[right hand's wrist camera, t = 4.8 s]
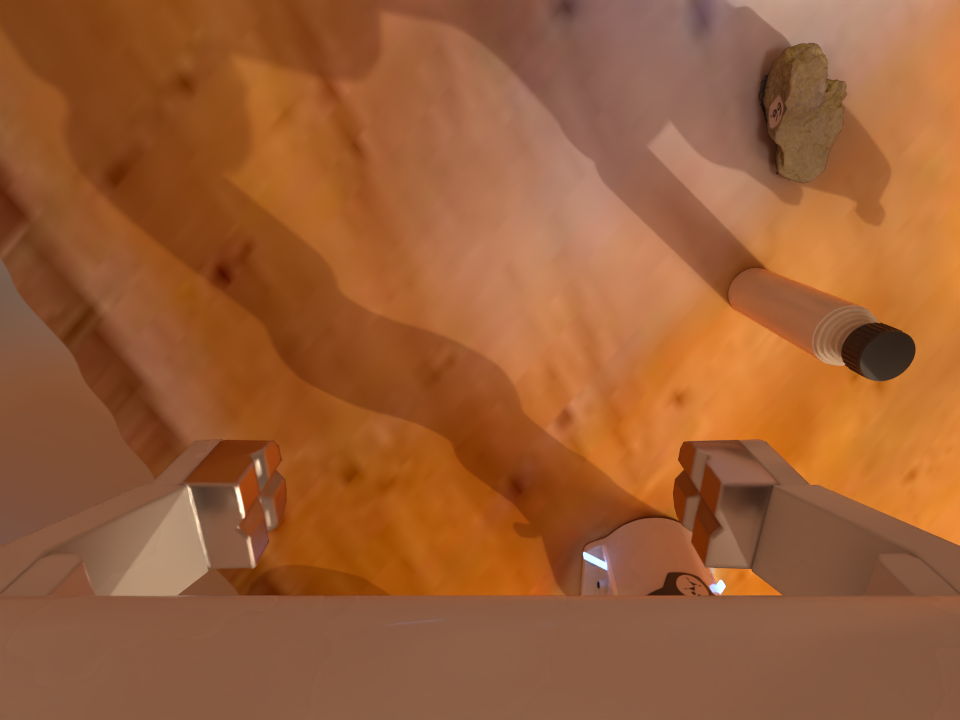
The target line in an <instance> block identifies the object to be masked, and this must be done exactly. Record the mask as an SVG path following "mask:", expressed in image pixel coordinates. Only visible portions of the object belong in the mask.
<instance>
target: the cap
mask: <svg viewBox="0 0 960 720" xmlns="http://www.w3.org/2000/svg"><path fill="white" fill-rule="evenodd" d="M914 356H915V343H914V341H913V340H912V338H911V337H910V336H909V335H907V334H906V333H903V332H902V331H901V330H898V329H896V328H893V327H891V326H888V325H886V324H883V323H876V322H875V323H869V324H865V325H862V326H860V327H858V328H856V329H855V330H853V331H852V332H851V333H850V334H849V335H848V336H847V338H846V339H845V341H844V343H843V345H842V349H841V357H842V360H843V362H844V363H845V366H847V367H849V369H851V370H852V371H854V372H856V373H858V374H860V375H861V376H864V377H865V378H867V379H870V380H874V381H886V380H890V379H893V378H895V377H897V376H899V375H900V374H901V373H903V372H904V371H905V370H906V369H907V368H908V367H909V366H910V364H911V362H912V361H913V358H914Z"/></svg>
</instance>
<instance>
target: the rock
mask: <svg viewBox="0 0 960 720" xmlns="http://www.w3.org/2000/svg"><path fill="white" fill-rule="evenodd" d="M827 71H828V60H827V59H826V56H825V55H824V54H823V53H822V50H821V48H820V47H819V45H817V44H815V43H808V44H805V43H803V44H798V45H796V46H793V47H790V48H787V49H785V50H784V51H783V53H782V54H781V55H780V56H779V57H778V58H776V59H775V60H774V61H773V63H772V69H771V71H770V73H769V75H767V76H766V75H765V77H764V79H763V81H762V87H761V92H760V95H759V100H761V99H762V100H761V104H760V105H762V109H763V111H764V116H765V119H766V123H767V130H768V133H769V136H770V138H771V139H772V140H773V141H775V143H776V144H777V149H776V162H775V163H776V170H777V173H776V174H778V173H779V174H780V175H781V176H782V177H784V178H786V179H789V180H793V181H796V182H800V183H807V182H810V181H812V180H814V179H815V178H816V177H818V176H819V175H820V174H821V173H822V172H823V171H824V170H825V167H826V162H827V159H828V155H829V151H830V148H831V146H832V145H833V144H834V141H835V138H836V136H837V135H838V134H839V132H840V131H841V130H842V127H843V113H844V106H843V105H842V101H843V99H844V98H845V97H846V95H847V92H846V83H845V81H838V80H829V79H827V76H828V73H827Z"/></svg>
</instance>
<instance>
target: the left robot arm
mask: <svg viewBox="0 0 960 720" xmlns="http://www.w3.org/2000/svg"><path fill="white" fill-rule="evenodd" d="M691 539H692V532H691V531H689V530H688V529H686V528H685V527H683V526H682V525H681V523H679V522H676V521H674V520H670V519H666V518H645V519H640V520H636V521H633V522H630V523H628V524H625V525H623V526H622V527H620V528H618V529H617V530H615V531H614V532H613V533H611V534H610V535H609V536H607V537H605V538H603V539H600V540H597V541H594V542H591V543H589V544H587V545H586V546H585V547H584V551H583V564H582V577H581V590H580V596H721V592H722V591H723V589H724V588H725V585H724V583H723V581H721V580H720V581H719V583H718V584H716V582H715V579H714V577H713V574H714V572H715V568H705V566H704V564H703V563H702V561H701V559H700V557H699V555H698V554H697V552H696V550H695V548H694V547H693V545H692V543H691Z"/></svg>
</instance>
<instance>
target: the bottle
mask: <svg viewBox="0 0 960 720" xmlns="http://www.w3.org/2000/svg"><path fill="white" fill-rule="evenodd" d="M728 299H729V303H730V305H731V306H732V308H733V309H735V310H736V311H737V312H739V313H741V314H743V315H744V316H746V317H748V318H749V319H751V320H753V321H754V322H756V323H758V324H759V325H761V326H763V327H765V328H766V329H768V330H770V331H771V332H773V333H775V334H776V335H778V336H780V337H781V338H783V339H785V340H787V341H788V342H790V343H792V344H793V345H795V346H797V347H798V348H800V349H802V350H803V351H805V352H807V353H808V354H810V355H812V356H814V357H815V358H817V359H819V360H820V361H822V362H824V363H827V364H831V365H845V363H844V362H843V360H842V357H841V349H842V345H843V343H844V341H845V339H846V338H847V336H848V335H849V334H850V333H851V332H852V331H853V330H855V329H856V328H858V327H860V326H862V325H865V324H869V323H875V322H876V323H878V321H877V319H876V318H875V316H874V315H873V314H872V313H871V312H870V311H869V310H868V309H866V308H864V307H862V306H859V305H857V304H854V303H851V302H849V301H846V300H844V299H841V298H838V297H836V296H833V295H831V294H828V293H825V292H823V291H820V290H818V289H815V288H812V287H810V286H807V285H805V284H802V283H800V282H797V281H794V280H792V279H789V278H787V277H784V276H781V275H779V274H776V273H774V272H771V271H768V270H766V269H763V268H750V269H747V270H745V271H743V272H741V273H740V274H739V275H737V276H736V277H735V278H734V280H733V281H732V283H731V285H730V287H729V291H728Z"/></svg>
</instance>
